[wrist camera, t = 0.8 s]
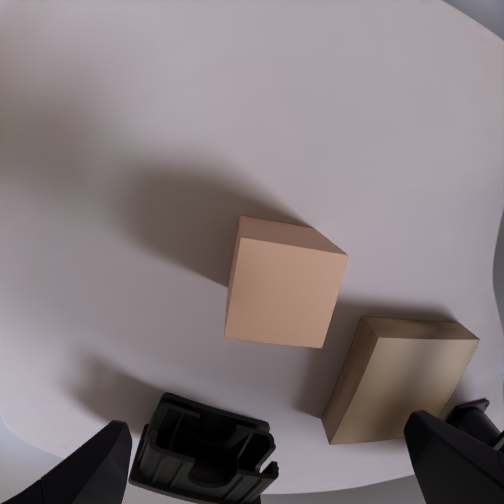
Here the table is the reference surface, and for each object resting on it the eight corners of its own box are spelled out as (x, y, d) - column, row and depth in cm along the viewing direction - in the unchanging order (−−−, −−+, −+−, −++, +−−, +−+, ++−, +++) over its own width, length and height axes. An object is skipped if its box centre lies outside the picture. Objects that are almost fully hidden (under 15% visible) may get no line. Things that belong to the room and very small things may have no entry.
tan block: (459, 323, 21) (479, 339, 18) (414, 413, 23) (427, 433, 20) (361, 315, 20) (378, 337, 17) (321, 419, 22) (329, 444, 19)
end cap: (140, 436, 22) (124, 494, 16) (157, 387, 21) (137, 453, 14) (243, 466, 24) (245, 522, 17) (276, 423, 22) (287, 488, 16)
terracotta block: (314, 228, 18) (348, 255, 12) (298, 297, 19) (321, 348, 13) (239, 215, 18) (240, 237, 12) (227, 287, 19) (224, 337, 13)
